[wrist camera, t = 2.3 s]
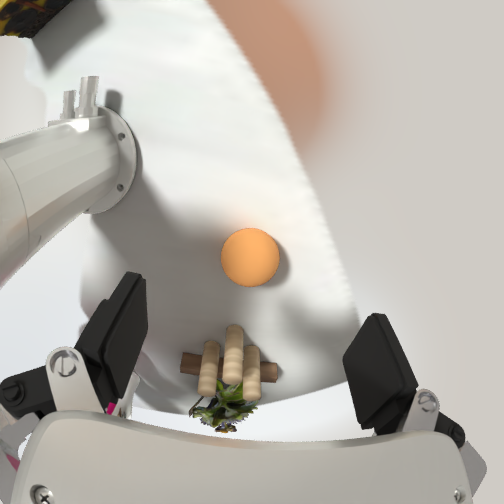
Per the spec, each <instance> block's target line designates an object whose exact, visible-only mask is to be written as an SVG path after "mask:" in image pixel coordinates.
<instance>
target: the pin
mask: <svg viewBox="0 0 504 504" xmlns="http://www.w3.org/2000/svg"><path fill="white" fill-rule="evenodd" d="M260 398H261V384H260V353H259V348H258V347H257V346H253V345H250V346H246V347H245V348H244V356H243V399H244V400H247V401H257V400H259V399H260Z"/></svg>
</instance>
